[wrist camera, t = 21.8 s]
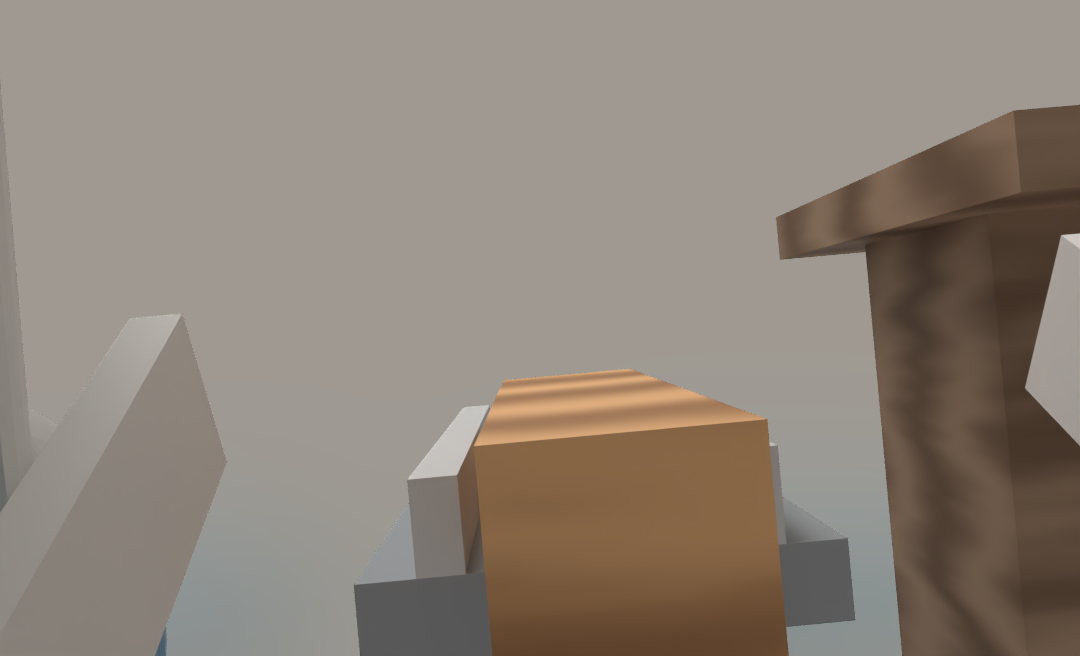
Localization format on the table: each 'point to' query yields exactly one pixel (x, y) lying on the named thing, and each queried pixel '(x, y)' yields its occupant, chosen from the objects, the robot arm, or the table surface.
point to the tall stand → (969, 379)
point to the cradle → (459, 575)
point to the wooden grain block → (627, 521)
